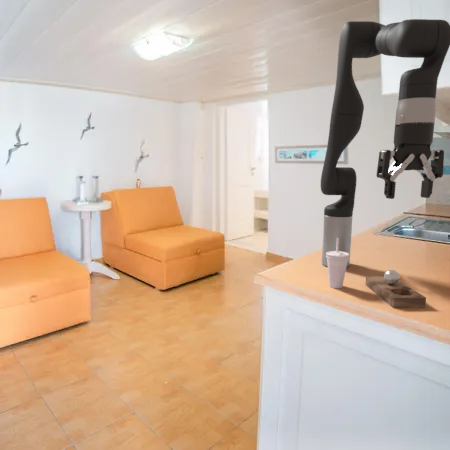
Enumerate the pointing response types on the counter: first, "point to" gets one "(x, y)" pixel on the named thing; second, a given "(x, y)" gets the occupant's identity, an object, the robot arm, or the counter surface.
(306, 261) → the counter surface
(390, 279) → the ball
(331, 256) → the smoothie
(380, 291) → the brown ball holder
